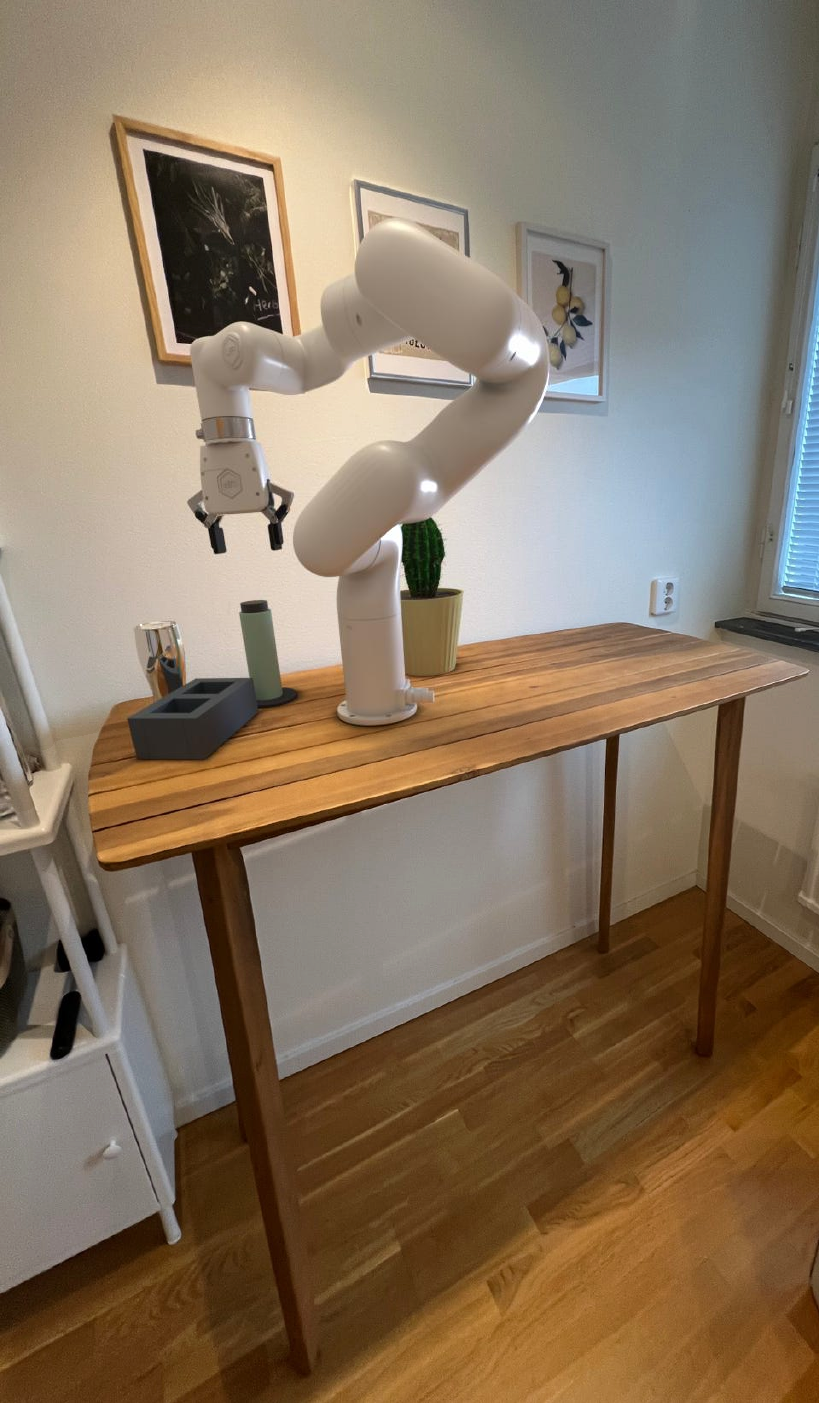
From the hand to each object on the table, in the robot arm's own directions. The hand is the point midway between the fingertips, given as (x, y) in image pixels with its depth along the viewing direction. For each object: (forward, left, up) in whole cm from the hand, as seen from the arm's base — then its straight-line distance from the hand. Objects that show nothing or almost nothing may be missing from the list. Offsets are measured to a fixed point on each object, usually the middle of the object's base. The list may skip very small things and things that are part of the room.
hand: (248, 551), depth 88 cm
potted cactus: (-26, -18, -25) cm, 40 cm away
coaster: (0, 0, -25) cm, 25 cm away
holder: (+4, +16, -25) cm, 30 cm away
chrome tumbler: (+14, +7, -25) cm, 30 cm away
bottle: (+1, 0, -25) cm, 25 cm away
